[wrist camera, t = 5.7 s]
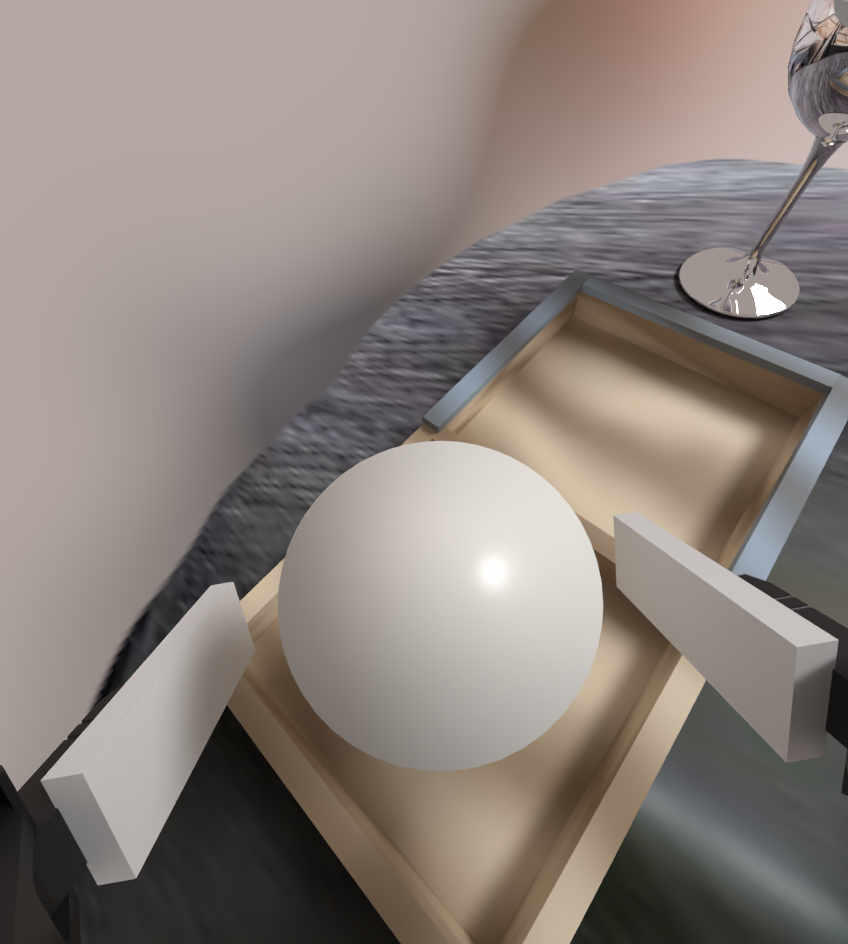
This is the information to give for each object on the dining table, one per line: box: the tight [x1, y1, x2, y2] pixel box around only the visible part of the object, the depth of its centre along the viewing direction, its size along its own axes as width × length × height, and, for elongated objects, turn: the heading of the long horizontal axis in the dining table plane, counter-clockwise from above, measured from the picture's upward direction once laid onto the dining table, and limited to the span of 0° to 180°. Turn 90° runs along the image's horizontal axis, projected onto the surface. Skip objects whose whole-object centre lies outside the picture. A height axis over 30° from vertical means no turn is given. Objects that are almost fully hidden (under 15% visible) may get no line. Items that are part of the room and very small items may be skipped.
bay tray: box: [227, 270, 848, 944], centre depth 20 cm, size 30×16×3 cm, turn 139°
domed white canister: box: [278, 441, 603, 771], centre depth 13 cm, size 6×6×12 cm
